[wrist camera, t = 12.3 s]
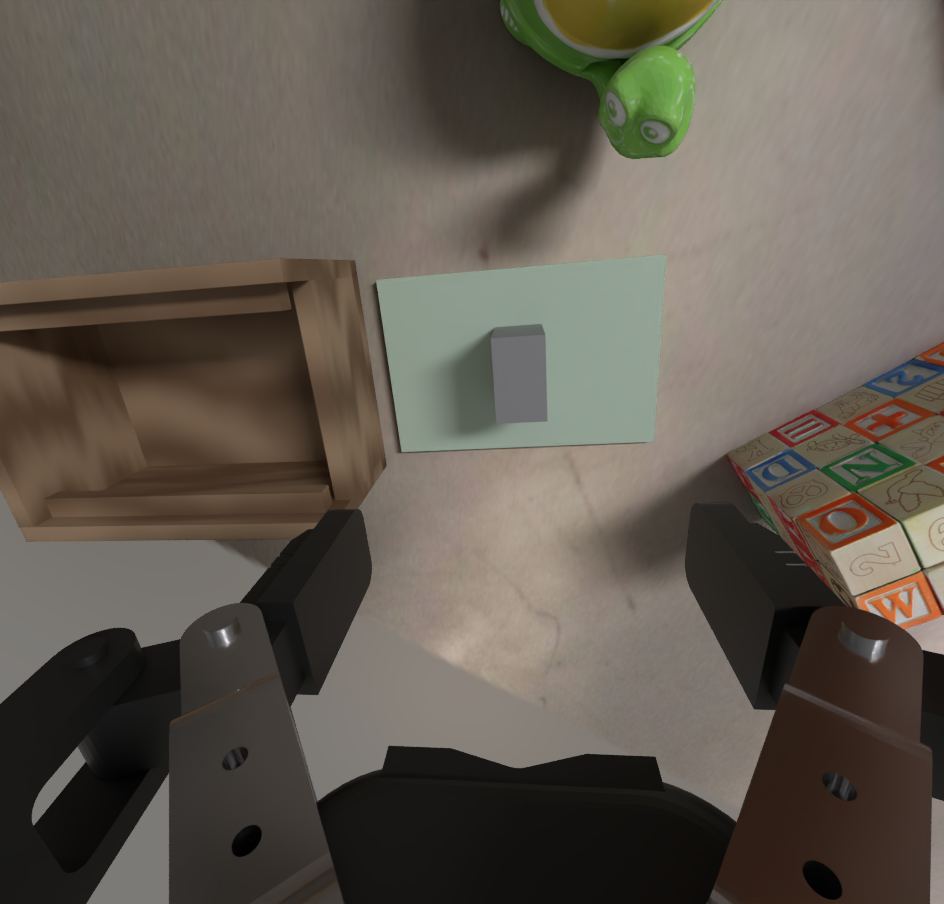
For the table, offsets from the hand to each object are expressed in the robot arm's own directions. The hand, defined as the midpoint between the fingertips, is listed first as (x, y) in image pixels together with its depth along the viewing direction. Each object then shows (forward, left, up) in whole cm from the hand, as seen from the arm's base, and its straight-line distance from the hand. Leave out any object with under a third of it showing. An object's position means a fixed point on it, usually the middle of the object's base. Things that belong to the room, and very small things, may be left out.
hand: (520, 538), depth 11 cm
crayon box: (0, -20, -22) cm, 30 cm away
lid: (0, 0, -23) cm, 23 cm away
